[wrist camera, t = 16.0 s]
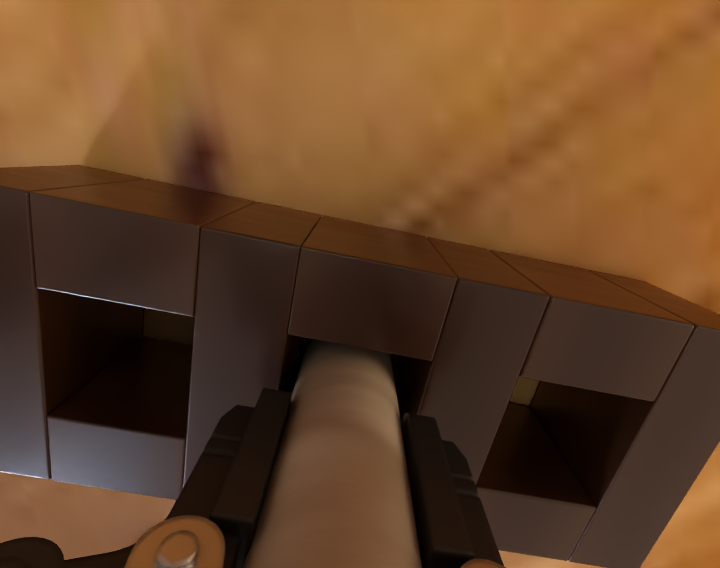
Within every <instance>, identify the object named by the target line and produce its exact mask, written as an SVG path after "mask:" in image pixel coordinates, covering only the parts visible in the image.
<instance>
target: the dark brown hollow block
mask: <svg viewBox="0 0 720 568" xmlns="http://www.w3.org/2000/svg"><path fill="white" fill-rule="evenodd" d="M143 308H148V309H154V310H159V311H164V312H170V313H175V314H181V315H186V316H191V317H192V316H194V315H195V319H194V334H193V346H192V345H187V344H181V343H176V342H170V341H165V340H159V339H154V338H148V337H143ZM301 337H305V338H311V339H316V340H321V341H327V342H332V343H338V344H343V345H348V346H354V347H359V348H365V349H370V350H375V351H381V352H386V353H391V354H395V357H394V360H393V364H392V367H393V373H394V380H395V387H396V394H397V400H398V407H399V414H400V421H401V423H402V419H403V417H404V415H405V413H411V414H417V415H422V416H428V417H434V418H435V419H436V422H437V425H438V429H439V432H440V436H441V439H442V440H445V441H451V442H454V444H455V445H456V446H457V447H458V449H459V450H460V451H461V453H462V454H463V455H464V456H465V458H466V459H467V462H468V465H469V468H470V470H471V473H472V476H473V481H474V482H475V485H476V488H477V491H478V493H479V494H478V497H479V498H480V499H481V502H482V505H483V508H484V511H485V514H486V516H487V519H488V522H489V525H490V528H491V531H492V534H493V537H494V539H495V542H496V545H497V548H498V550H501V551H507V552H514V553H520V554H526V555H533V556H539V557H545V558H552V559H558V560H565V561H567V560H569V561H570V562H574V563H581V564H587V565H594V566H600V567H606V568H640V566H641V565H642V563H643V562H644V560H645V559H646V557H647V555H648V554H649V552H650V551H651V549H652V547H653V546H654V544H655V543H656V541H657V540H658V538H659V536H660V535H661V533H662V532H663V530H664V529H665V527H666V525H667V524H668V522H669V521H670V519H671V517H672V516H673V514H674V513H675V511H676V510H677V508H678V506H679V505H680V503H681V502H682V500H683V499H684V497H685V495H686V494H687V492H688V491H689V489H690V487H691V486H692V484H693V483H694V481H695V480H696V478H697V476H698V475H699V473H700V472H701V470H702V468H703V467H704V465H705V464H706V462H707V461H708V459H709V457H710V456H711V454H712V453H713V451H714V450H715V448H716V446H717V445H718V443H719V442H720V315H719V314H717V313H715V312H712V311H710V310H708V309H706V308H703V307H701V306H699V305H697V304H694V303H692V302H690V301H688V300H685V299H683V298H681V297H679V296H676V295H674V294H672V293H670V292H667V291H665V290H663V289H661V288H658V287H656V286H654V285H652V284H649V283H647V282H644V281H640V280H635V279H630V278H625V277H620V276H615V275H610V274H606V273H601V272H596V271H591V270H585V269H581V268H576V267H571V266H566V265H561V264H556V263H551V262H547V261H542V260H537V259H532V258H527V257H522V256H517V255H512V254H508V253H503V252H498V251H493V250H487V249H483V248H479V247H474V246H469V245H464V244H459V243H454V242H449V241H445V240H440V239H435V238H430V237H427V238H426V237H425V236H421V235H416V234H411V233H406V232H401V231H396V230H392V229H387V228H382V227H377V226H372V225H367V224H362V223H357V222H353V221H348V220H343V219H338V218H333V217H328V216H322V217H321V215H318V214H313V213H309V212H304V211H299V210H294V209H289V208H284V207H279V206H274V205H270V204H265V203H260V202H255V201H251V200H246V199H241V198H236V197H231V196H226V195H222V194H217V193H212V192H207V191H202V190H197V189H192V188H188V187H183V186H178V185H173V184H168V183H163V182H158V181H153V180H149V179H146V180H145V179H143V178H138V177H133V176H128V175H123V174H119V173H114V172H109V171H104V170H99V169H94V168H89V167H84V166H80V165H70V166H39V167H8V168H0V472H5V473H11V474H17V475H24V476H30V477H36V478H43V479H51V478H52V480H53V481H59V482H66V483H72V484H78V485H85V486H91V487H97V488H104V489H110V490H116V491H123V492H129V493H136V494H142V495H148V496H155V497H161V498H167V499H174V500H177V499H178V497H179V495H180V493H181V491H182V489H183V487H184V486H185V484H186V482H187V480H188V478H189V476H190V474H191V472H192V471H193V469H194V467H195V465H196V463H197V461H198V459H199V457H200V456H201V454H202V452H203V451H204V448H205V446H206V444H207V442H208V441H209V439H210V438H211V436H212V433H213V431H214V429H215V428H216V426H217V424H218V422H219V420H220V418H221V417H222V416H223V415H225V414H226V413H227V412H228V411H230V410H231V409H232V408H233V407H235V406H236V405H242V406H248V407H254V408H255V406H256V403H257V401H258V399H259V396H260V394H261V391H262V389H263V388H269V389H275V390H281V391H286V392H292V394H293V390H294V387H295V383H296V380H297V376H298V373H299V370H300V366H301V365H296V364H297V358H298V352H299V346H300V340H301ZM519 376H521V377H523V378H528V379H534V380H539V381H541V382H540V384H539V387H538V389H537V392H536V394H535V396H534V399H533V401H532V404H531V406H530V408H529V407H527V406H522V405H516V404H511V403H508V402H509V400H510V397H511V395H512V392H513V389H514V387H515V384H516V382H517V379H518V377H519Z"/></svg>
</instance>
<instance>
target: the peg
mask: <svg viewBox="0 0 720 568" xmlns="http://www.w3.org/2000/svg"><path fill="white" fill-rule="evenodd" d="M242 568H422V562H421V555H420V549H419V542H418V535H417V528H416V522H415V515H414V508H413V501H412V495H411V488H410V481H409V474H408V468H407V461H406V454H405V448H404V441H403V434H402V427H401V421H400V414H399V407H398V400H397V394H396V387H395V380H394V373H393V367H392V360H391V356H390V353H386V352H381V351H375V350H370V349H365V348H359V347H354V346H348V345H343V344H338V343H332V342H327V341H321V340H316V339H313V340H312V341H311V343H310V344H309V345H308V347H307V348H306V350H305V353H304V356H303V359H302V363H301V366H300V370H299V373H298V376H297V380H296V383H295V387H294V390H293V394H292V398H291V404H290V408H289V412H288V415H287V419H286V422H285V426H284V430H283V433H282V437H281V440H280V444H279V447H278V451H277V454H276V458H275V461H274V465H273V469H272V472H271V476H270V479H269V483H268V486H267V490H266V493H265V497H264V500H263V504H262V507H261V511H260V515H259V518H258V522H257V525H256V529H255V532H254V536H253V539H252V543H251V546H250V550H249V552H248V553H247V556H246V558H245V560H244V563H243V567H242Z"/></svg>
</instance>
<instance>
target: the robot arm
mask: <svg viewBox="0 0 720 568" xmlns="http://www.w3.org/2000/svg"><path fill="white" fill-rule="evenodd" d="M291 398H292V392H286V391H281V390H275V389H269V388H263V389H262V391H261V394H260V396H259V399H258V401H257V403H256V406H255V408H254V407H248V406H242V405H236V406H235V407H233V408H232V409H231V410H230V411H228V412H227V413H226V414H225V415H223V416H222V417H221V418H220V420H219V422H218V424H217V426H216V428H215V429H214V431H213V433H212V436H211V438H210V439H209V441H208V442H207V444H206V446H205V448H204V451H203V452H202V454H201V456H200V457H199V459H198V461H197V463H196V465H195V467H194V469H193V471H192V472H191V474H190V476H189V478H188V480H187V482H186V484H185V486H184V487H183V489H182V491H181V493H180V495H179V497H178V499H177V500H176V502H175V504H174V506H173V508H172V510H171V512H170V513H169V515H168V516H167V518H166V519H165V520H164V521H163V522H161V523H159V524H157V525H156V526H154V527H153V528H151V529H150V530H149V531H147V532H146V533H145V534H144V535H143V536H142V537H141V538H140V539H139V541H138V542H137V543H135V544H133V545H131V546H129V547H126V548H123V549H120V550H117V551H113V552H109V553H103V554H97V555H92V556H86V557H80V558H74V559H69V560H64V556H63V553H62V551H61V549H60V548H59V547H58V545H57V544H55V543H54V542H52V541H51V540H48V539H45V538H39V537H25V538H18V539H13V540H10V541H6V542H3V543H0V568H242V567H243V563H244V560H245V558H246V556H247V553H248V552H249V550H250V546H251V543H252V539H253V536H254V532H255V529H256V525H257V522H258V518H259V515H260V511H261V507H262V504H263V500H264V497H265V493H266V490H267V486H268V483H269V479H270V476H271V472H272V469H273V465H274V461H275V458H276V454H277V451H278V447H279V444H280V440H281V437H282V433H283V430H284V426H285V422H286V419H287V415H288V412H289V408H290V404H291ZM401 427H402V434H403V441H404V448H405V454H406V461H407V468H408V474H409V481H410V488H411V495H412V501H413V508H414V515H415V522H416V528H417V535H418V542H419V549H420V555H421V562H422V568H505V567H504V565H503V562H502V560H501V557H500V554H499V551H498V548H497V545H496V542H495V539H494V537H493V534H492V531H491V528H490V525H489V522H488V519H487V516H486V514H485V511H484V508H483V505H482V502H481V499H480V498H479V497H478V494H479V493H478V491H477V488H476V485H475V482H474V481H473V476H472V473H471V470H470V468H469V465H468V462H467V459H466V458H465V456H464V455H463V454H462V453H461V451H460V450H459V449H458V447H457V446H456V445H455V444H454V442H451V441H445V440H442V439H441V436H440V432H439V429H438V425H437V422H436V419H435V418H434V417H428V416H422V415H417V414H411V413H405V415H404V417H403V419H402V423H401Z"/></svg>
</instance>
